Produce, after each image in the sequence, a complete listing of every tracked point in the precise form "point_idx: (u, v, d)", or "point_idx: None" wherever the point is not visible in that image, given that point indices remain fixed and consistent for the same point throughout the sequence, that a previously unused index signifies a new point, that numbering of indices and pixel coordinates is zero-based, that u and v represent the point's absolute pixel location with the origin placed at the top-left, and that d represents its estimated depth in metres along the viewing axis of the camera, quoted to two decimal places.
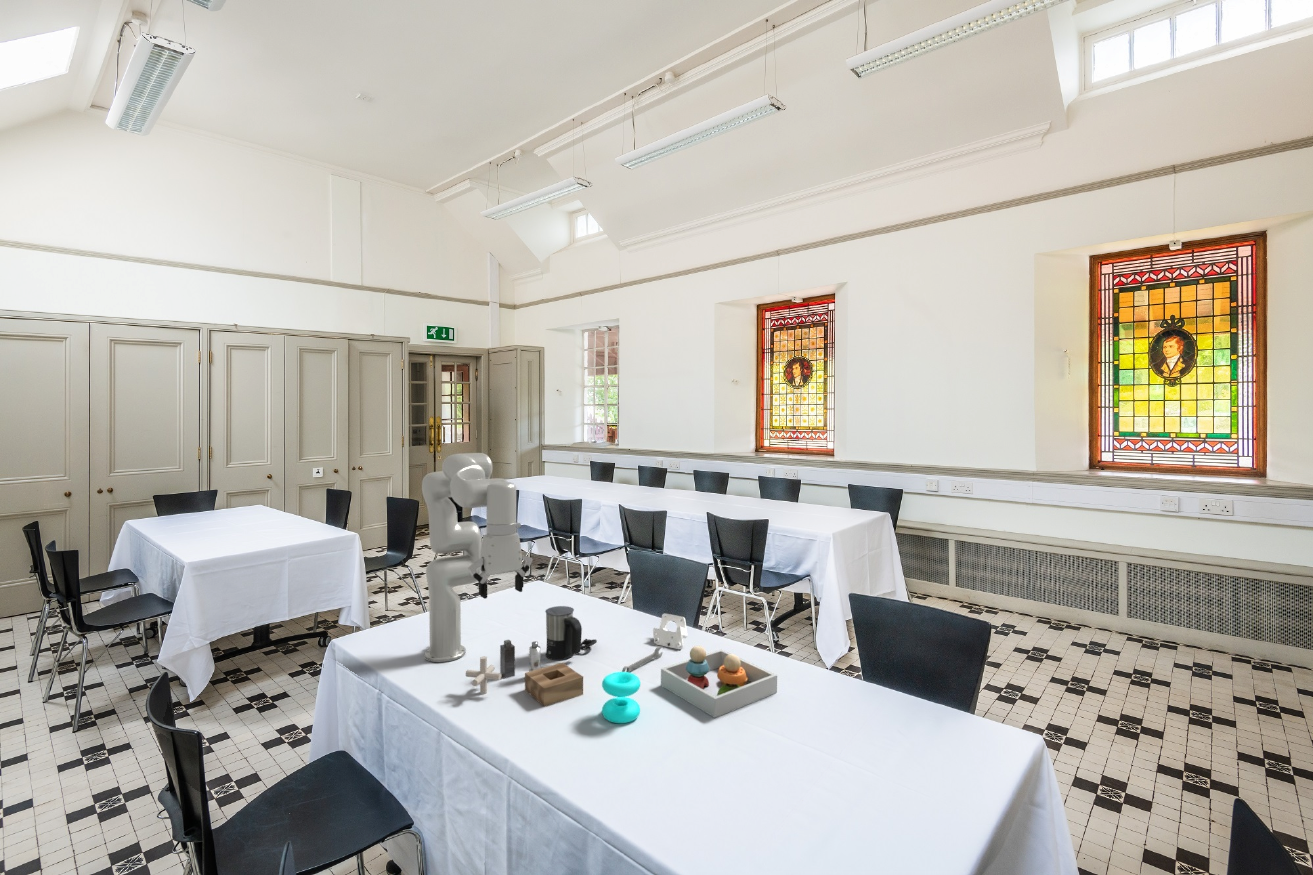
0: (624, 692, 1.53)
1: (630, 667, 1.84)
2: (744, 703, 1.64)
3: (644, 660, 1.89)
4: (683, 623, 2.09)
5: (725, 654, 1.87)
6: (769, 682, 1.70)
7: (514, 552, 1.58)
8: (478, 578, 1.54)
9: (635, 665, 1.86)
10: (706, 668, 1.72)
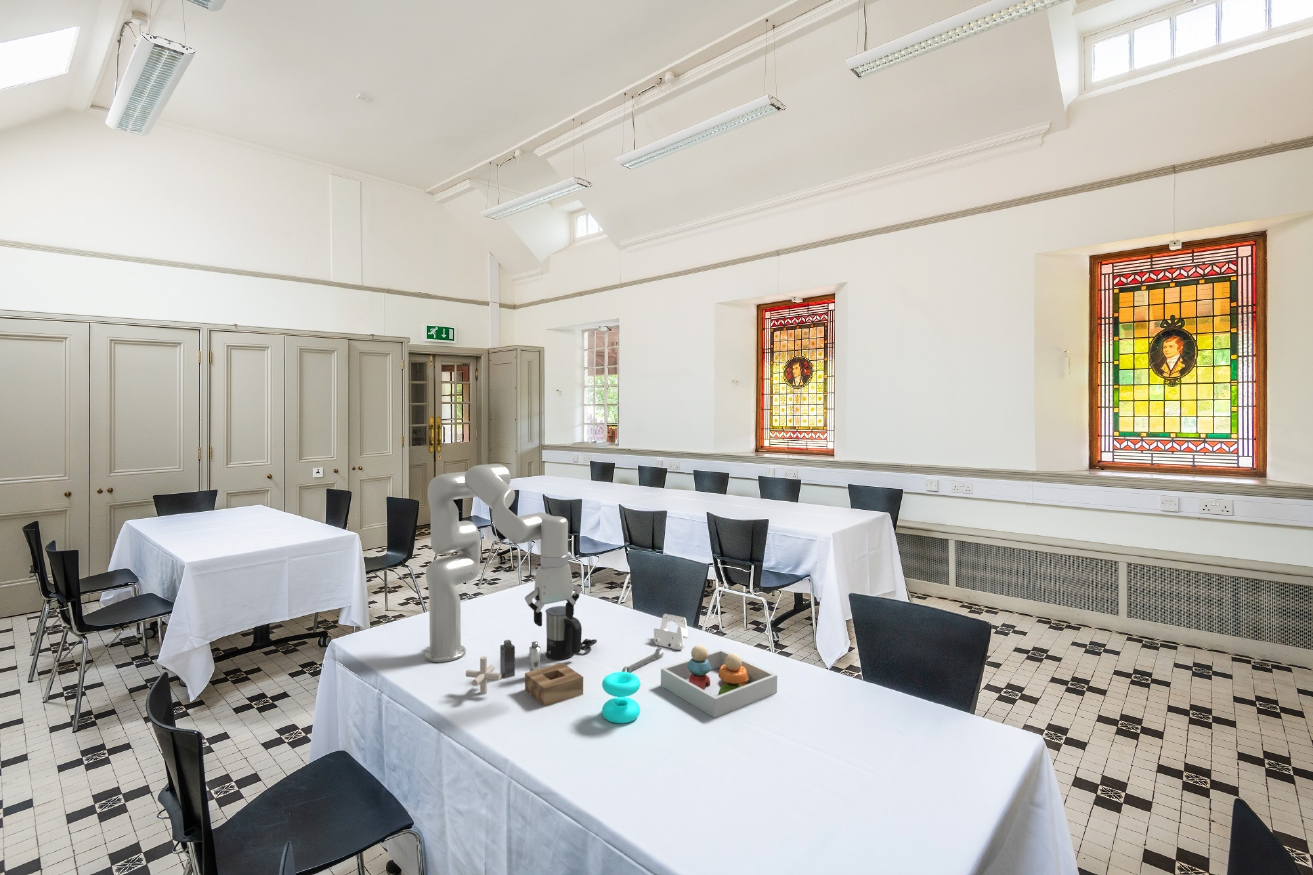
0: (624, 692, 1.53)
1: (630, 667, 1.84)
2: (744, 703, 1.64)
3: (644, 660, 1.89)
4: (684, 624, 2.09)
5: (725, 654, 1.87)
6: (769, 682, 1.70)
7: (566, 582, 1.69)
8: (534, 607, 1.65)
9: (635, 665, 1.85)
10: (707, 667, 1.73)
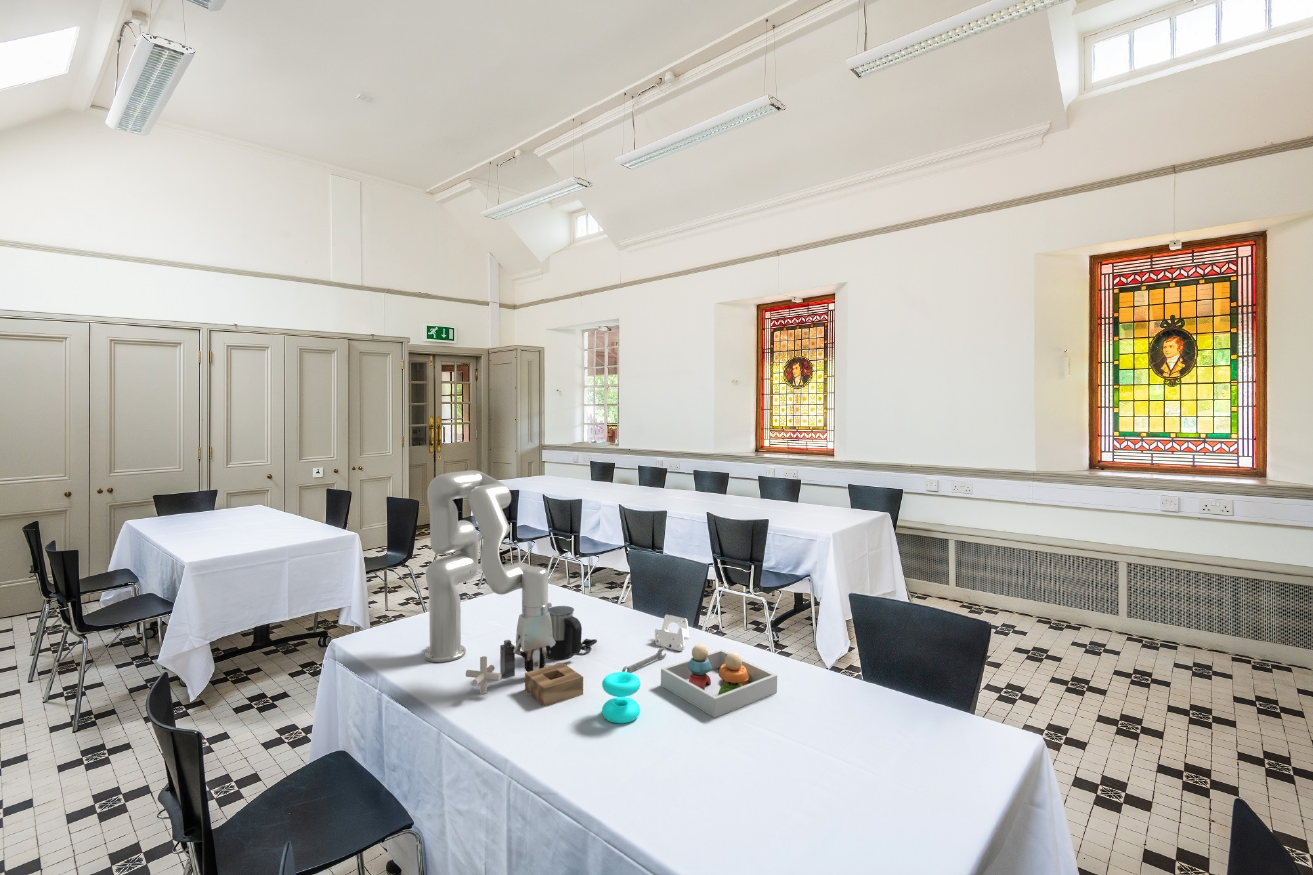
0: (624, 692, 1.53)
1: (631, 667, 1.84)
2: (744, 703, 1.64)
3: (646, 661, 1.89)
4: (685, 625, 2.08)
5: (725, 654, 1.87)
6: (769, 682, 1.70)
7: (546, 630, 1.79)
8: (524, 656, 1.77)
9: (636, 665, 1.85)
10: (708, 666, 1.73)
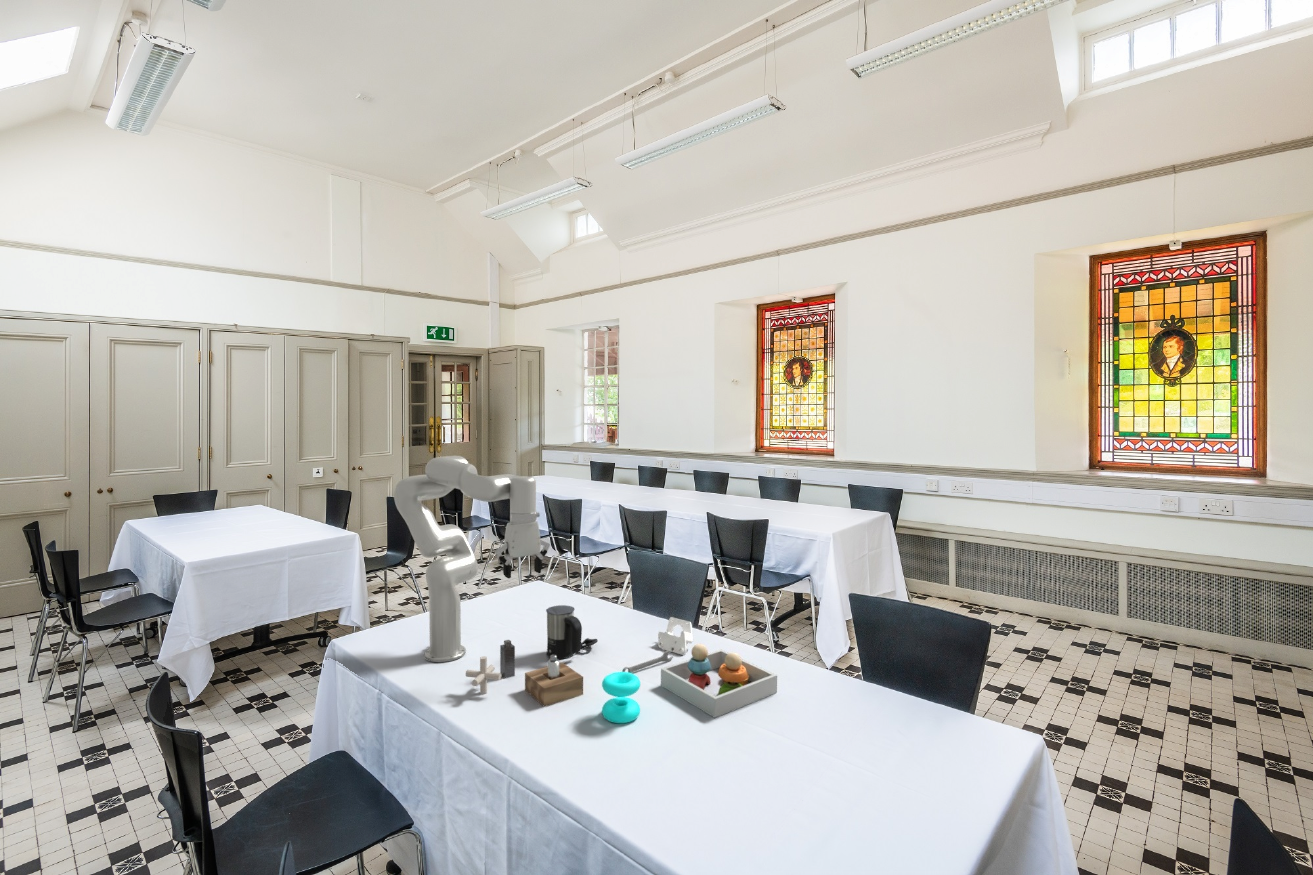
0: (624, 692, 1.53)
1: (632, 668, 1.83)
2: (744, 703, 1.64)
3: (649, 662, 1.87)
4: (689, 628, 2.05)
5: (725, 654, 1.87)
6: (769, 682, 1.70)
7: (534, 538, 1.80)
8: (503, 560, 1.76)
9: (637, 666, 1.84)
10: (707, 666, 1.73)
